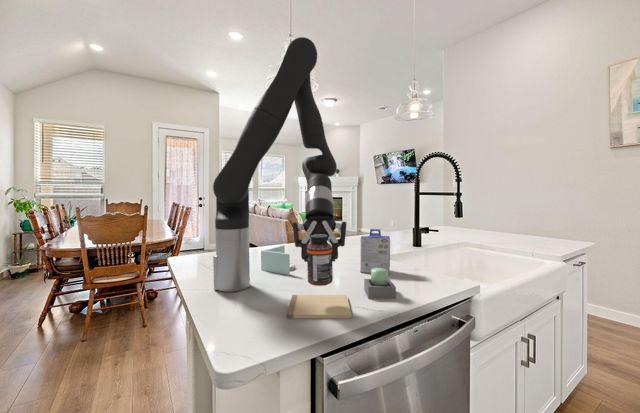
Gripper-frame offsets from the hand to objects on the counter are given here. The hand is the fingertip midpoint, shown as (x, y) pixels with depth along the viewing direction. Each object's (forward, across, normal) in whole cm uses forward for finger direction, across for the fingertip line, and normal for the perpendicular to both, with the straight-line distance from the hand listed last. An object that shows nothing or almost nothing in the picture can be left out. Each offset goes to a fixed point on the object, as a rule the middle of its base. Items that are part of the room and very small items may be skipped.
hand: (319, 259), depth 67 cm
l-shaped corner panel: (-17, -13, +34) cm, 40 cm away
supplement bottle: (+4, 0, +5) cm, 6 cm away
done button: (-1, +16, +13) cm, 20 cm away
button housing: (+2, +16, +15) cm, 22 cm away
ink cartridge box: (-14, +18, +31) cm, 39 cm away
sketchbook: (+8, 0, +8) cm, 12 cm away
